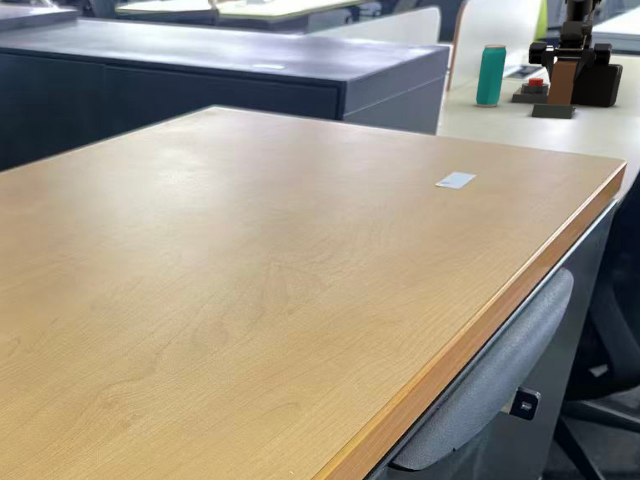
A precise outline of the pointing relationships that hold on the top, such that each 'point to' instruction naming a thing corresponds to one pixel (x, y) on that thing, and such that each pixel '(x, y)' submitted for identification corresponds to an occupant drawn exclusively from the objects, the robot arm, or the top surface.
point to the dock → (553, 111)
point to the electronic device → (597, 86)
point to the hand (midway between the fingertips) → (561, 82)
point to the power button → (535, 81)
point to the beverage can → (491, 75)
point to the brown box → (562, 82)
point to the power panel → (531, 94)
